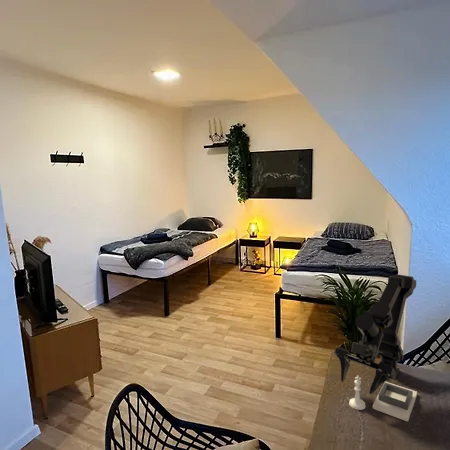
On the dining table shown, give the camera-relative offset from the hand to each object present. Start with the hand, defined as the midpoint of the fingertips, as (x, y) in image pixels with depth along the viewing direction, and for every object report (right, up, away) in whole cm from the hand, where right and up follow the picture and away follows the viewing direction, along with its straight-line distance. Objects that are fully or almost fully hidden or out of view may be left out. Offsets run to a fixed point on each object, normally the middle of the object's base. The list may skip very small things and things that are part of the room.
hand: (355, 387), depth 105 cm
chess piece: (+1, -7, +2) cm, 7 cm away
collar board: (+14, -6, +3) cm, 16 cm away
